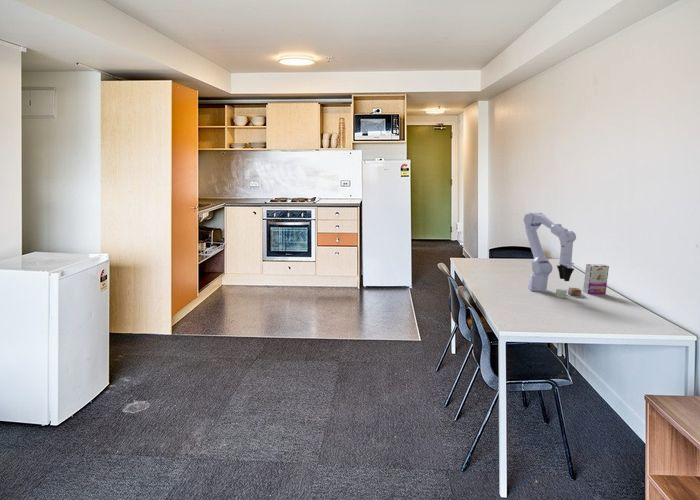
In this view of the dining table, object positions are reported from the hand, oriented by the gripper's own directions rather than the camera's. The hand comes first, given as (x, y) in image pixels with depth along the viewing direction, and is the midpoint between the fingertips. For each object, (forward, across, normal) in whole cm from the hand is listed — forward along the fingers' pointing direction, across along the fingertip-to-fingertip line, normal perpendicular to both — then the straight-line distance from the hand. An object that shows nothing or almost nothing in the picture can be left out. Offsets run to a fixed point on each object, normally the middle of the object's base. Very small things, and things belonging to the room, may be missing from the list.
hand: (564, 280), depth 266 cm
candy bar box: (+10, +17, -21) cm, 29 cm away
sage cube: (+10, 0, +1) cm, 10 cm away
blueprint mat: (+9, +11, -8) cm, 16 cm away
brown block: (+9, +7, -8) cm, 14 cm away
